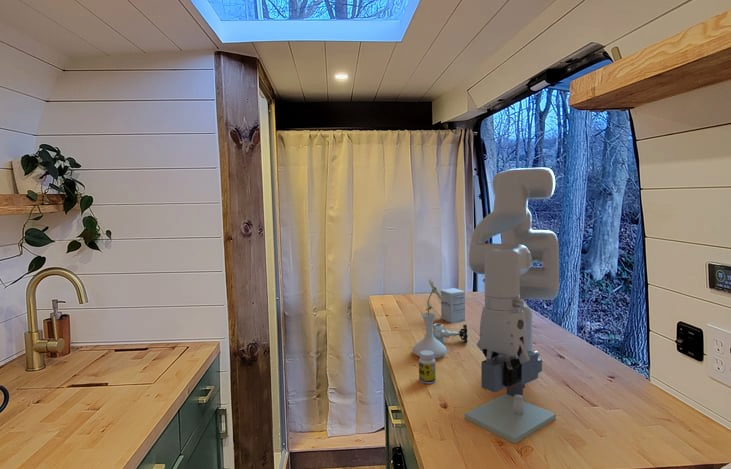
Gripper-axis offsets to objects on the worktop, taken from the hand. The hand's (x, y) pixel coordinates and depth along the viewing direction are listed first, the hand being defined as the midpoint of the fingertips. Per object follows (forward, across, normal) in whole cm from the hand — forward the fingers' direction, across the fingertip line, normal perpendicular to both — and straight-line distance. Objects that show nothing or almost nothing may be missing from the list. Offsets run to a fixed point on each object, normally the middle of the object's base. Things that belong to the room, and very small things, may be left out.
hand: (502, 381), depth 101 cm
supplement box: (+9, +64, -54) cm, 85 cm away
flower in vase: (+10, +44, -20) cm, 49 cm away
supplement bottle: (+11, +30, -5) cm, 32 cm away
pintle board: (+11, +2, -7) cm, 13 cm away
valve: (+10, +47, -33) cm, 58 cm away
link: (+1, 0, -4) cm, 4 cm away
